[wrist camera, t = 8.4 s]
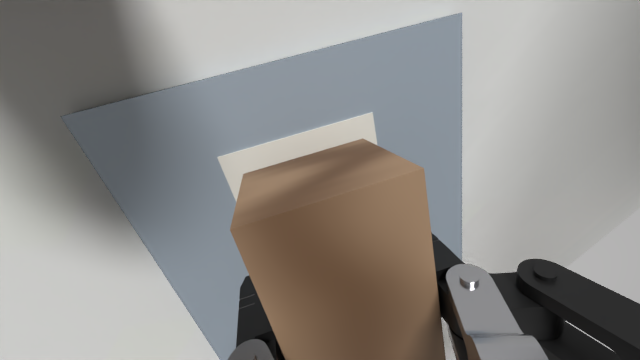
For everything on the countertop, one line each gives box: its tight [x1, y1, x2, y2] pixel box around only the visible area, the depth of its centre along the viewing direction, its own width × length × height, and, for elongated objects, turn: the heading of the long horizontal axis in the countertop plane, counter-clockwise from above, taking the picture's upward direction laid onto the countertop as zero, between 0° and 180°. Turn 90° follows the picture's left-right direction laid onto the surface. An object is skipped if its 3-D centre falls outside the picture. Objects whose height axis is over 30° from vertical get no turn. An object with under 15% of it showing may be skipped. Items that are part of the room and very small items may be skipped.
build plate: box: [60, 13, 462, 360], centre depth 14 cm, size 16×16×1 cm
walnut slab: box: [230, 138, 446, 360], centre depth 10 cm, size 5×9×4 cm, turn 14°
